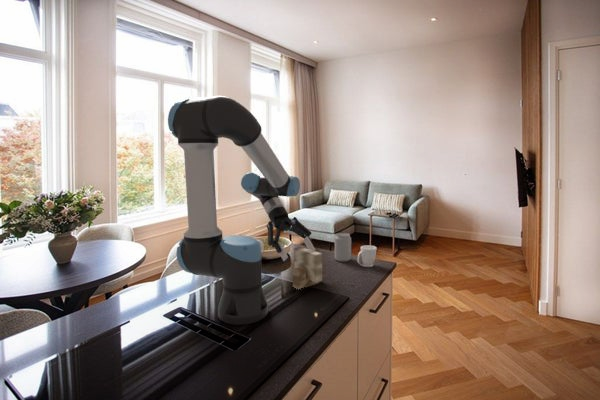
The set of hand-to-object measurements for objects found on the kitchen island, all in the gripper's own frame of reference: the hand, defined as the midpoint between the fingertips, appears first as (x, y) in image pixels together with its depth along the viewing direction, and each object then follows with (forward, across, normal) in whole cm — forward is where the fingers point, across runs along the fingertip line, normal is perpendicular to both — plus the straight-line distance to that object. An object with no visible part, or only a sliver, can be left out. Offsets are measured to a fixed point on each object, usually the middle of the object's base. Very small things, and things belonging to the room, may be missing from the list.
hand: (300, 255), depth 128 cm
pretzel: (-18, -2, -34) cm, 38 cm away
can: (+3, -31, -12) cm, 34 cm away
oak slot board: (+10, 0, -3) cm, 11 cm away
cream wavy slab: (+8, 0, -1) cm, 9 cm away
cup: (+11, -32, -3) cm, 34 cm away
